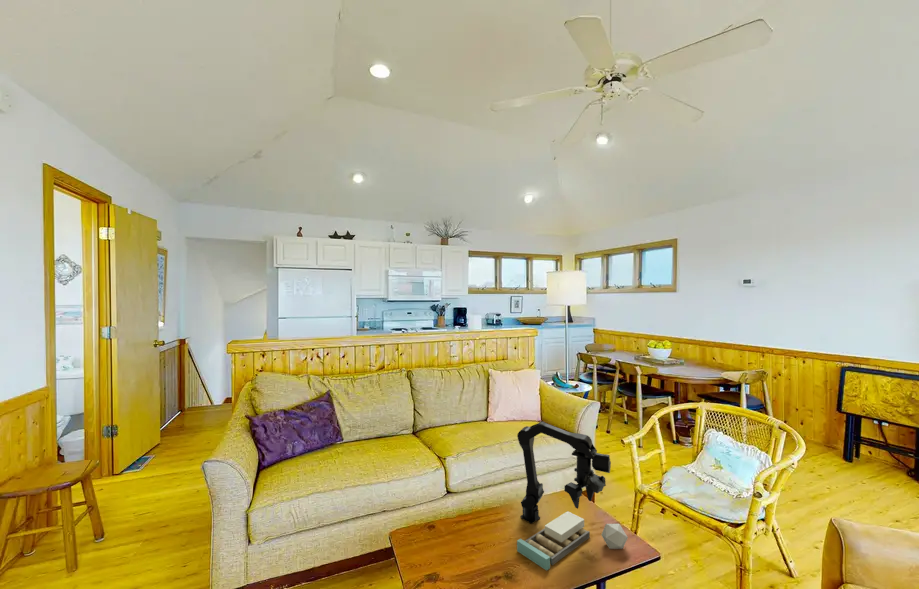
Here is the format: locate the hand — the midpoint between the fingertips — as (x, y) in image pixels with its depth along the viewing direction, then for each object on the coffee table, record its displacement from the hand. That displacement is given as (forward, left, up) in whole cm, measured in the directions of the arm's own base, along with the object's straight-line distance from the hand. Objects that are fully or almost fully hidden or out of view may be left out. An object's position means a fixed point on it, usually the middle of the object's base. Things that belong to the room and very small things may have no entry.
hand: (583, 504), depth 159 cm
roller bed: (-3, -13, -12) cm, 18 cm away
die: (+13, +2, -12) cm, 17 cm away
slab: (-3, -8, -9) cm, 13 cm away
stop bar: (-3, -29, -12) cm, 31 cm away
